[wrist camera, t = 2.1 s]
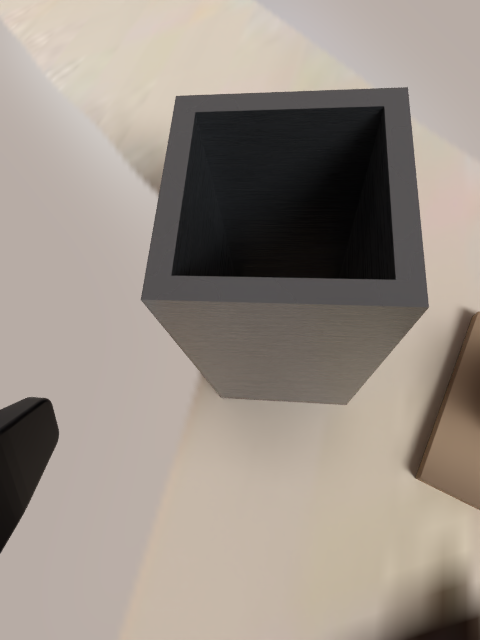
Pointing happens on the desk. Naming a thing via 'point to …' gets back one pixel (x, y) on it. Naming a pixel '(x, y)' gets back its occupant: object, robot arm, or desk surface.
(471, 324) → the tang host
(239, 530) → the desk surface
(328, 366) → the socket sleeve
